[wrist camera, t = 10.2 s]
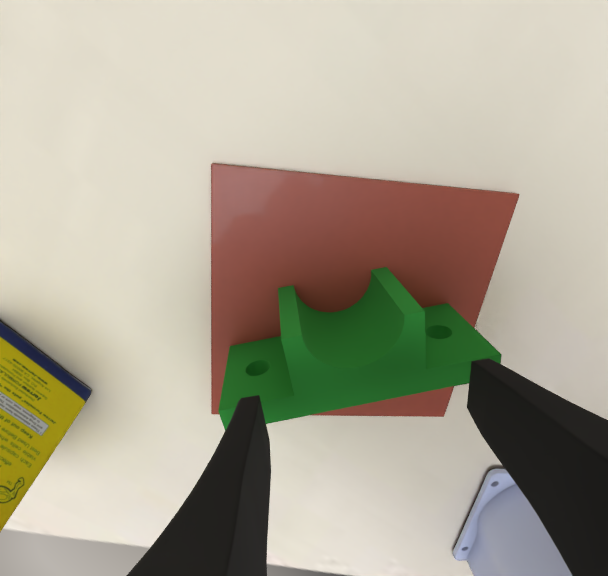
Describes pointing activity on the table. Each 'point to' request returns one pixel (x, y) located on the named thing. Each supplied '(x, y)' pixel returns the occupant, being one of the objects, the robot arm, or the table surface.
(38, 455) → the supplement box
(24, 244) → the table surface
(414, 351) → the pipe clamp
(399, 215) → the napkin
